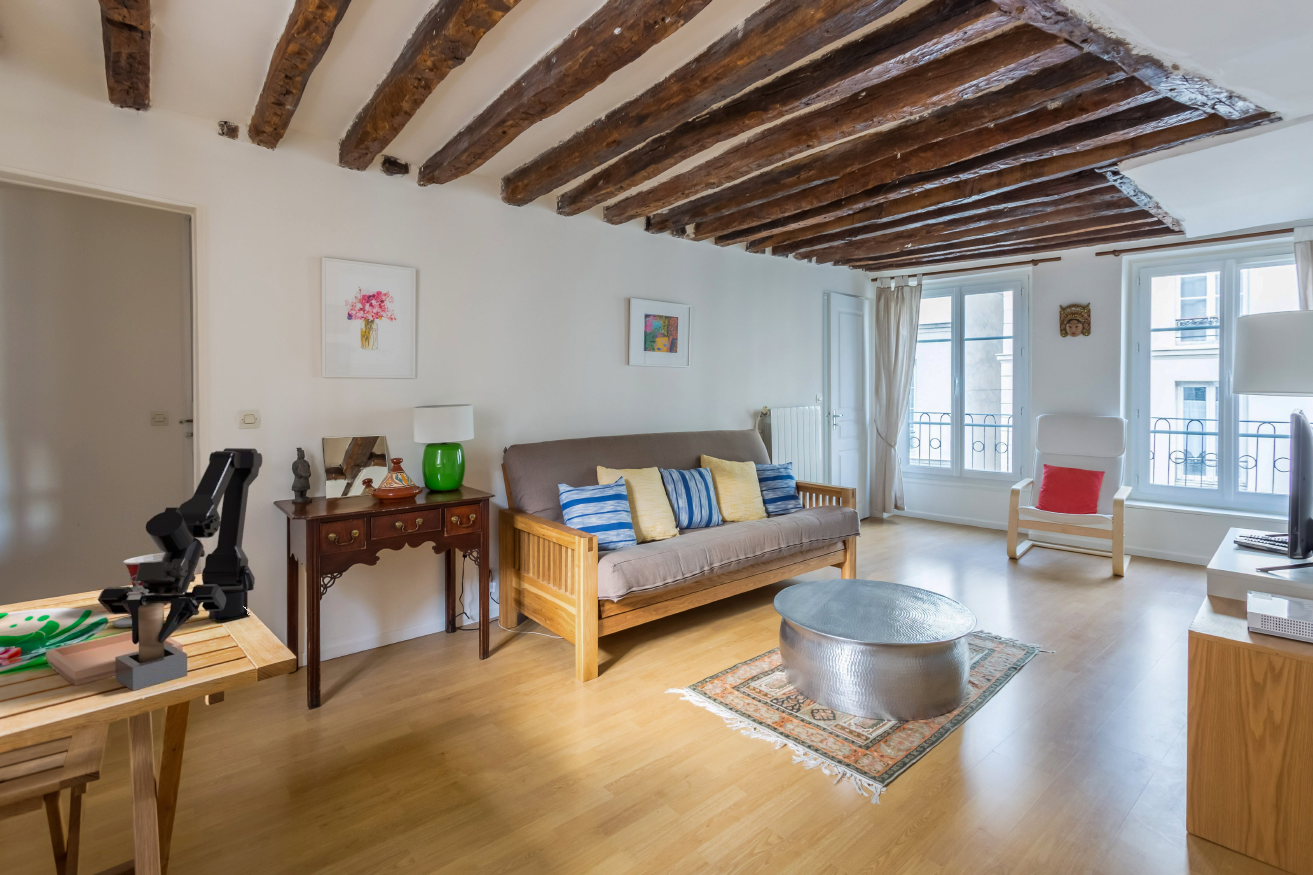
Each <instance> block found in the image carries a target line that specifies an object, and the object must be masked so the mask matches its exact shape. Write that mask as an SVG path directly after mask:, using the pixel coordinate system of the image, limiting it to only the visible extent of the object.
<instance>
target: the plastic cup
mask: <svg viewBox="0 0 1313 875" xmlns="http://www.w3.org/2000/svg"><path fill="white" fill-rule="evenodd" d="M164 554H165V552H160V553H159V552H158V553H152V554H145V555H140V556H136V557H131V558H128V559H125V560H123V564H124V565H125V566H126V568H127V570H128V573H129V576H130V578H131V577H132V576H135V575H137V571H138V567H139V563H148V562H161V561H162V559H163V556H164ZM135 580H136V576H135V577H133V578H132V581H135ZM143 583H144V582H140V583H138V585H139V586H143ZM131 584H132V587H133V586H135V585H136V584H135V583H133V582H131ZM166 605H167V604H164V606H166Z"/></svg>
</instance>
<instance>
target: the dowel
mask: <svg viewBox="0 0 1313 875" xmlns="http://www.w3.org/2000/svg"><path fill="white" fill-rule="evenodd" d="M138 617H139V663H144V662H148V661H151V660H155V659H159V658H163V657H164V642H163V643H159V641H158V638H159V635H160V632H161V629H162V627H163V625H164V623H165V605H164V604H163V603H152V604H146V605H142V606H140V607H139V608H138Z"/></svg>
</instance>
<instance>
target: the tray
mask: <svg viewBox="0 0 1313 875" xmlns="http://www.w3.org/2000/svg"><path fill="white" fill-rule="evenodd" d="M166 644H170V645H172V646H174V647H175V648H177V649H179V650H181V651H183V652H184V650H183V647H184V646H183V645H184V644H183V643H181V642H180V641H178V640H176V639H173V638H171V637H170V636H169V637H168V638H167V639H166V640H165V641H164V645H166ZM138 651H139V642H138V643H137V644H134V643H133V642H132V630H130V631H125V632H121V633H116V634H112V635H108V636H103V637H98V638H94V639H89V640H84V641H81V642H75V643H72V644H68V645H62V646H59V647H54V648H50V649H46V650H45V661H46V660H47V662H48V663H49V664H50V666H51V667H52V669H53V670H54V669H55V670H56V671H55V670H54V671H55V672H57V674H59V675H60V676H62V677H64V678H65V679H66V680H67V681H68V682H70V683H71V684H72V685H73V686H75V687H77V686H79V685H83V684H86V683H87V684H88V683H91V682H95V681H98V680H103V679H106V678H109V677H114V676H116V668H115V657H117V656H121V655H125V654H130V653H134V652H138ZM50 666H49V667H50ZM51 667H50V668H51Z"/></svg>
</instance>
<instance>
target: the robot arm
mask: <svg viewBox="0 0 1313 875" xmlns="http://www.w3.org/2000/svg"><path fill="white" fill-rule="evenodd" d="M208 461H209V462H208V465H207V466H206V469H205V471H204V473H203V475H202V476H201V479H200V481H199V484H198V485H197V487H196V489H195V491H194V493H193V495H192V497H191V498H189V499H188V500H186V501H184V502H183V503H181V504H180V505H179V507H177V506H175V507H167V506H166V507H165V509H164V511H163V512H159V513H157V514H155V515H154V516H152V518H150V519H149V520H148V521H147V522H146V524H145V531H146V533H147V534H148V536H149V537H150V539H151V540H152V541H153V543H154V544H155V546H156V547H157V548H158V550H160V551H161V552H162V553H165V554H164V556H163V559H162V561H161V562H148V563H139V567H138V571H137V575H136V580H135V581H141V582H144V583H143V588H144V589H148V590H149V591H148V593H143V592H134V591H133V590H132V589H131V588H130V587H131V586H108V587H105V588H103V589H102V590H101V592H100V594H99V596H98V598H97V601H98V602H99V603H100V605H102V607H103V608H104V609H105V610H106V611H107V612H108V613H109V614H112V615H128V614H131V615H130V616H131V618H132V627H131V631H132V642H133V643H134V644H137V643H138V642H139V617H138V608H139V607H140V606H142V605H146V604H152V603H163V604H166V605H168V604H170V605H169V606H170V607H169V611H168V613H167V617H166V619H164V625H163V627H162V629H161V632H160V635H159V638H158V641H159V643H163V642H164V641H165V640H166V639H167V638H168V637H169V638H170V636H171V635H172V634H174V632H175V631H177V630H178V628H180V627H181V626H182V625H183V624H185V623H186V622H187V621H189V619H190V618H192V617H193V616H199V614H200V610H199V609H200V606H201V607H202V608H203V609H204V610H205V612H208V618H209V619H212V620H213V621H216V622H218V623H225V622H230V621H233V620H237V618H239V619H242V617H243V618H247V617H249V616H248V614H249V613H250V612H249V611H247V610H246V609H248V610H249V608H248V607H249V606H248V602H249V600H248V596H249V594H248V593H249V592H250V591H253V590H255V581H256V579H255V578H256V577H255V576H254V574H253V572H252V570H251V568H250V567H249V559H248V557H247V555H246V553H245V551H244V550H243V547H242V546H243V537H244V528H245V522H246V521H245V520H246V512H247V503H248V495H249V487H250V486H251V485H252V484H253V482H254V481H255V480H256V479H257V477H258V476H259V472H260V468H261V467H262V465H263V455H262V453H260V452H258V450H257V449H256V448H251V447H249V448H245V447H244V448H243V447H242V448H240V447H239V448H238V447H237V448H236V447H235V448H234V447H226V448H224V449H223V450H216V451H214V452H213V451H212V452H211V453H210V455H209V459H208ZM222 499H223V500H222ZM221 501H222V507H221V514H219V511H218V508H219V505H220V503H221ZM217 532H218V536H217V537H218V538H217V546H216V547H215V549H214V550H213V551H212V552H211V553H208V554H207V555H206V553H205V550H204V544H203V543H202V541H201V540H199V539H209V538H213V537H214V535H215V534H216V533H217ZM204 557H205V562H204V568H203V569H202V572H201V581H202V584H195V585H194V586H193V587H192V589H191V590H192V591H188V590H189V587H190V584H191V583H195V580H196V576H195V571H196V569H197V566H198V564H199V560H200V558H204ZM243 606H244V607H246V609H245V608H244V607H243ZM247 612H249V613H248V614H247ZM246 616H247V617H246Z"/></svg>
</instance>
